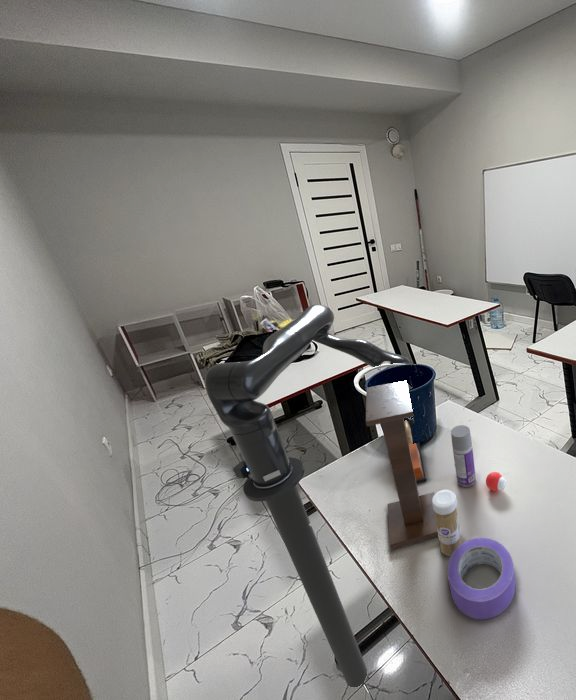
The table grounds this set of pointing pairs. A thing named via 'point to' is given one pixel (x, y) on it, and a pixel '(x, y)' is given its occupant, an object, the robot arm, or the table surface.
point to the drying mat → (422, 466)
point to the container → (463, 455)
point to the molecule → (495, 481)
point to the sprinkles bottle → (447, 521)
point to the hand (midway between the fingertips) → (406, 424)
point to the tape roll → (487, 599)
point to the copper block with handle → (414, 453)
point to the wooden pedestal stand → (401, 466)
